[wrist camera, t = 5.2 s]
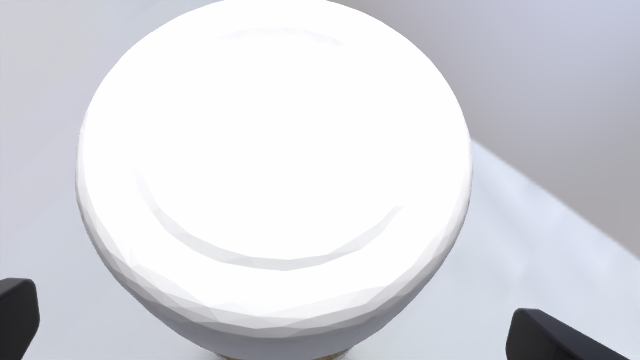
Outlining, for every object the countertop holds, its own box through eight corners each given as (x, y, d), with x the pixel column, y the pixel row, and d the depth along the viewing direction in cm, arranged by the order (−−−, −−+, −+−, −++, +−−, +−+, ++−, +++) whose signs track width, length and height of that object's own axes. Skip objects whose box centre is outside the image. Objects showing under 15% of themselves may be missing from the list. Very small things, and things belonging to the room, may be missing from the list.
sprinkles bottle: (302, 247, 19) (334, -64, 7) (370, 348, 17) (574, 184, 5) (197, 310, 17) (-4, 65, 5) (260, 428, 16) (181, 461, 4)
